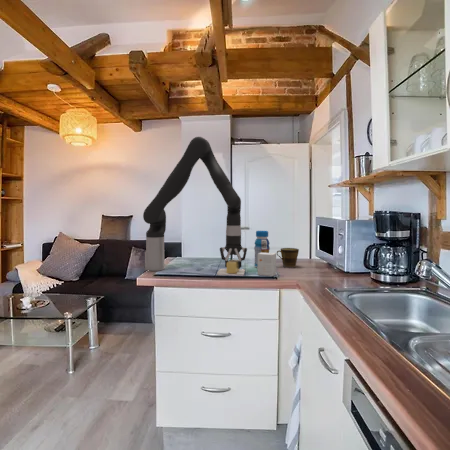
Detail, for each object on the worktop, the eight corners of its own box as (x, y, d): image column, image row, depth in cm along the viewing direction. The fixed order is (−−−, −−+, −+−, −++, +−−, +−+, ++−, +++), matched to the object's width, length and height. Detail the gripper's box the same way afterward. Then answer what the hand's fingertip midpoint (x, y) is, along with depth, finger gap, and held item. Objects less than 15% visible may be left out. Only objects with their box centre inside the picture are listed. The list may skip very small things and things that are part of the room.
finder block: (226, 272, 146) (226, 262, 146) (230, 269, 155) (231, 259, 155) (235, 273, 145) (235, 262, 145) (239, 269, 154) (239, 259, 154)
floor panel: (217, 275, 145) (217, 273, 145) (219, 270, 157) (219, 268, 157) (243, 275, 144) (243, 273, 144) (244, 270, 156) (244, 269, 156)
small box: (276, 274, 148) (276, 253, 147) (273, 276, 142) (273, 254, 142) (260, 272, 151) (260, 252, 150) (257, 275, 146) (257, 253, 145)
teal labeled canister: (251, 267, 165) (252, 231, 164) (257, 265, 172) (257, 230, 171) (266, 268, 161) (266, 231, 160) (271, 266, 169) (271, 230, 168)
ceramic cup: (292, 264, 174) (292, 247, 174) (302, 267, 165) (302, 249, 164) (272, 265, 170) (272, 248, 170) (281, 269, 161) (281, 250, 160)
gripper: (218, 234, 146) (218, 269, 147) (247, 235, 145) (247, 270, 146) (220, 233, 154) (219, 266, 155) (248, 234, 152) (247, 267, 153)
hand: (233, 268), depth 150 cm, fingers open, 5 cm apart
